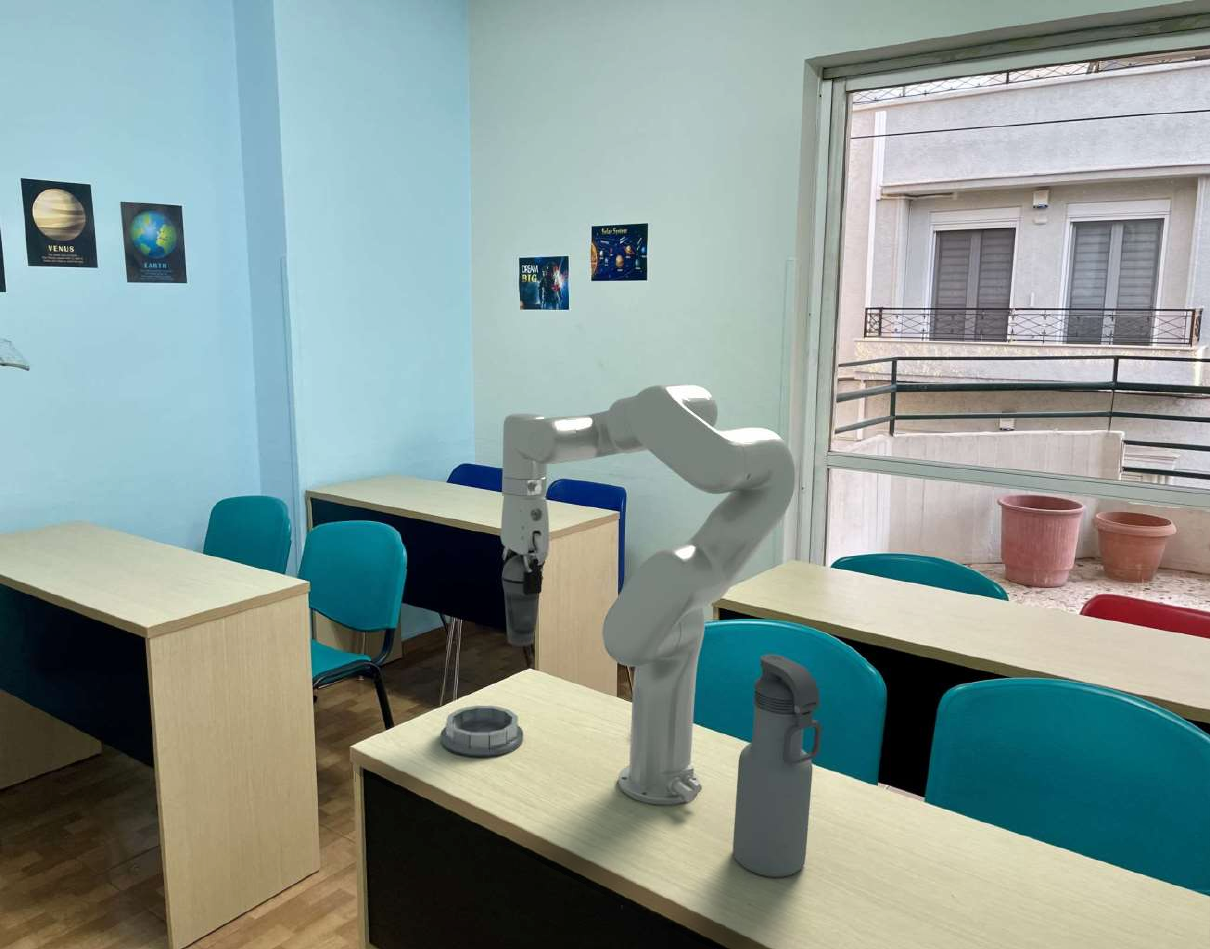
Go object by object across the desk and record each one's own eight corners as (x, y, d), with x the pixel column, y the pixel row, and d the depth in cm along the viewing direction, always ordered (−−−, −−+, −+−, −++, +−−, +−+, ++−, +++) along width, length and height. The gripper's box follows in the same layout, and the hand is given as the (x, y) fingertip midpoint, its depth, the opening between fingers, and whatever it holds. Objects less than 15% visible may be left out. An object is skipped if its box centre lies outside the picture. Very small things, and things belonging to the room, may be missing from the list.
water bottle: (822, 868, 125) (839, 669, 121) (768, 889, 120) (783, 683, 116) (770, 832, 134) (784, 645, 129) (717, 851, 128) (730, 657, 124)
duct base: (537, 746, 158) (538, 727, 157) (461, 764, 150) (462, 744, 150) (500, 716, 169) (500, 697, 169) (427, 731, 162) (427, 712, 161)
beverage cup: (534, 650, 158) (537, 535, 155) (493, 645, 160) (495, 532, 157) (547, 637, 165) (550, 527, 162) (508, 632, 167) (510, 523, 164)
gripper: (568, 494, 153) (564, 598, 156) (521, 477, 168) (519, 573, 171) (527, 496, 149) (524, 603, 152) (483, 479, 164) (481, 577, 167)
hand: (521, 586), depth 161 cm, fingers closed on beverage cup, 7 cm apart
